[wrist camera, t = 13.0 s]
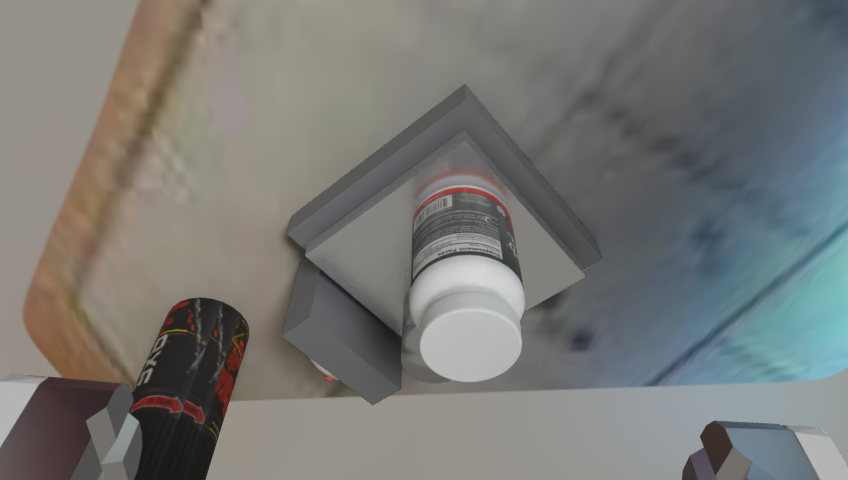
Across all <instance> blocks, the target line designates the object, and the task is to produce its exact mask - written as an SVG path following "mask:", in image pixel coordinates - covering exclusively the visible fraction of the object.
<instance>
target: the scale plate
mask: <svg viewBox="0 0 848 480" xmlns="http://www.w3.org/2000/svg"><path fill="white" fill-rule="evenodd" d="M455 185H471V186H476V187H479V188H482V189H485V190H487V191H489V192H491V193H492V194H494V195H495V196H496V197H498V198H499V199H500V200H501V201H502V202H503V204H504V205H505V206H506V208H507V210H508V212H509V215H510V217H511V221H512V226H513V231H514V237H515V242H516V248H517V254H518V259H519V265H520V270H521V276H522V281H523V286H524V294H525V307H524V312H525V311H527V310H528V309H530V308H532V307H534V306H536V305H537V304H539V303H541V302H543V301H544V300H546V299H548V298H550V297H551V296H553V295H555V294H557V293H558V292H560V291H562V290H564V289H565V288H567V287H569V286H571V285H572V284H574V283H576V282H578V281H579V280H581V279H583V278H585V277H586V275H585V271H584V268H583V265H582V263H581V262H580V261H579V260H578V259H577V258H576V257H575V255H574V254H573V253H572V252H571V251H570V250H569V249H568V247H567V246H566V245H565V244H564V243H563V242H562V241H561V239H560V238H559V237H558V236H557V235H556V234H555V233H554V232H553V230H552V229H551V228H550V227H549V226H548V225H547V224H546V222H545V221H544V220H543V219H542V218H541V217H540V216H539V214H538V213H537V212H536V211H535V210H534V209H533V208H532V207H531V205H530V204H529V203H528V202H527V201H526V200H525V199H524V197H523V196H522V195H521V194H520V193H519V192H518V191H517V189H516V188H515V187H514V186H513V185H512V184H511V183H510V182H509V180H508V179H507V178H506V177H505V176H504V175H503V174H502V172H501V171H500V170H499V169H498V168H497V167H496V166H495V164H494V163H493V162H492V161H491V160H490V159H489V158H488V157H487V155H486V154H485V153H484V152H483V151H482V150H481V149H480V147H479V146H478V145H477V144H476V143H475V142H474V141H473V140H472V138H471V137H470V136H469V135H468V134H467V133H466V132H465V130H463V131H462V132H460V133H459V134H458V135H456V136H455V137H453V138H452V139H451V140H449V141H448V142H447V143H445V144H444V145H442V146H441V147H440V148H438V149H437V150H436V151H434V152H433V153H431V154H430V155H429V156H427V157H426V158H425V159H423V160H422V161H420V162H419V163H418V164H416V165H415V166H414V167H412V168H411V169H409V170H408V171H407V172H405V173H404V174H403V175H401V176H400V177H398V178H397V179H396V180H394V181H393V182H392V183H390V184H389V185H387V186H386V187H385V188H383V189H382V190H381V191H379V192H378V193H376V194H375V195H374V196H372V197H371V198H370V199H368V200H367V201H366V202H364V203H363V204H361V205H360V206H359V207H357V208H356V209H355V210H353V211H352V212H350V213H349V214H348V215H346V216H345V217H344V218H342V219H341V220H339V221H338V222H337V223H335V224H334V225H333V226H331V227H330V228H328V229H327V230H326V231H324V232H323V233H322V234H320V235H319V236H317V237H316V238H315V239H313V240H312V241H311V242H309V243H308V245H307V249H306V253H305V256H306V257H307V258H308V259H309V260H311V261H312V262H313V263H314V264H315V265H317V266H318V267H319V268H320V269H321V270H322V271H324V272H325V273H326V274H327V275H328V276H330V277H331V278H332V279H333V280H334V281H335V282H337V283H338V284H339V285H340V286H341V287H343V288H344V289H345V290H346V291H347V292H348V293H350V294H351V295H352V296H353V297H354V298H356V299H357V300H358V301H359V302H360V303H361V304H363V305H364V306H365V307H366V308H367V309H369V310H370V311H371V312H372V313H373V314H374V315H376V316H377V317H378V318H379V319H380V320H382V321H383V322H384V323H385V324H386V325H387V326H389V327H390V328H391V329H392V330H393V331H395V332H396V333H397V334H398V335H399V336H400V337H402V325H403V309H404V306H405V304H406V302H407V301H408V300H409V284H410V252H411V227H412V220H413V217H414V214H415V212H416V210H417V208H418V207H419V205H420V204H421V203H422V202H423V201H424V200H425V199H426V198H427V197H428V196H429V195H431V194H432V193H434V192H436V191H438V190H440V189H442V188H446V187H449V186H455Z"/></svg>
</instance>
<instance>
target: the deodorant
mask: <svg viewBox="0 0 848 480" xmlns="http://www.w3.org/2000/svg"><path fill="white" fill-rule="evenodd" d="M248 338H249V327H248V325H247V322H246V320H245V319H244V318H243V316H242V315H241V314H240V313H239V312H238V311H236V310H235V309H234V308H233V307H231V306H229V305H227V304H225V303H223V302H220V301H217V300H214V299H208V298H191V299H187V300H184V301H181V302H179V303H178V304H176V305H175V306H173V308H172V309H171V310H170V312H169V313H168V315H167V317H166V320H165V322H164V324H163V326H162V328H161V330H160V333H159V335H158V337H157V339H156V341H155V343H154V346H153V348H152V350H151V352H150V354H149V356H148V359H147V361H146V363H145V365H144V367H143V369H142V372H141V374H140V376H139V378H138V380H137V382H136V385H135V387H134V389H133V391H132V396H133V399H134V401H133V403H132V406H131V408H130V410H129V412H128V413H129V414H131V415H132V416H133V417H134V418H136V419H137V420H138V421H139V423H140V427H141V432H142V451H141V456H140V461H139V466H138V470H137V473H136V475H135V478H134V480H205V479H206V476H207V472H208V469H209V465H210V463H211V459H212V456H213V453H214V449H215V446H216V443H217V440H218V437H219V433H220V430H221V427H222V423H223V420H224V417H225V413H226V410H227V407H228V404H229V401H230V397H231V394H232V391H233V388H234V384H235V381H236V378H237V374H238V371H239V368H240V365H241V361H242V358H243V355H244V352H245V348H246V345H247V342H248Z"/></svg>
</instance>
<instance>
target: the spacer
mask: <svg viewBox="0 0 848 480" xmlns="http://www.w3.org/2000/svg"><path fill="white" fill-rule="evenodd" d="M401 363H402V366H403V368H404V370H405V371H406V372H407V373H408V374H409V375H410V376H411V377H413V378H415V379H417V380H419V381H422V382H427V383H443V382H447V381H451V379H448V378H445V377H443V376H441V375H439V374H437V373H435V372H434V371H433V370H432V369H430V368H429V367H428V366H427V364H426V363H425V362H424V360H423V358H422V356H421V353H420V349H419V330H418V328H417V327H416V325H415V323H414V322H413V319H412V317H411V313H410V307H409V300H408V301H407V302H406V304H405V306H404V309H403V325H402V348H401Z"/></svg>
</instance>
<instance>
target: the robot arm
mask: <svg viewBox="0 0 848 480" xmlns="http://www.w3.org/2000/svg"><path fill="white" fill-rule="evenodd" d="M133 401H134V399H133V396H132V393H131V389H130V386H129V384H123V383H113V382H102V381H91V380H80V379H69V378H57V377H44V376H31V375H18V374H10V375H9V376H7V377H6V378H5V379H3V380H2V381H0V480H134V478H135V475H136V473H137V470H138V466H139V461H140V456H141V451H142V432H141V427H140V423H139V421H138V420H137V419H136V418H134V417H133V416H132V415H131V414H129V413H128V412H129V410H130V408H131V406H132V403H133ZM700 438H701V440H702V443H703V446H704V448H702V449H701V450H699V451H697V452H695V453H694V454H692V455H691V456H689V458H688V461H687V463H686V465H685V467H684V469H683V474H682V480H848V467H847V465H846V464H845V462H844V460H843V458H842V457H841V455H840V453H839V452H838V450H837V448H836V446H835V445H834V443H833V441H832V440H831V438H830V437H829V435H828V434H827V433H826V432H825V431H823V430H822V429H821V428H820V427H805V426H790V425H779V424H767V423H748V422H728V421H713V422H711V423H710V424H708V425H706V427H705V429H704V430H703V432H702V434H701V436H700Z"/></svg>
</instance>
